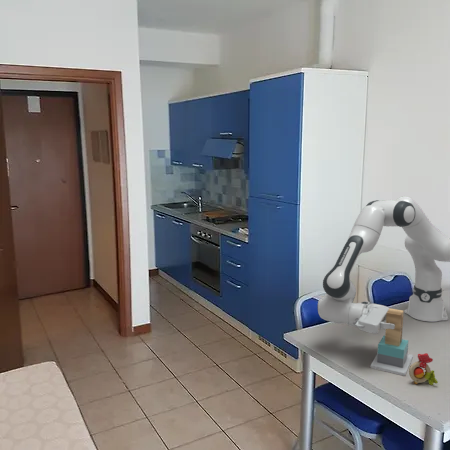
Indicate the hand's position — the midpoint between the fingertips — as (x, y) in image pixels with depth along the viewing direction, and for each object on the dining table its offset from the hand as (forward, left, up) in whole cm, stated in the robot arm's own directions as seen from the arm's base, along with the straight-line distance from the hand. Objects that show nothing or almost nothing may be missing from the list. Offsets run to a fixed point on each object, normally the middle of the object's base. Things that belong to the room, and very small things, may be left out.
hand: (397, 322), depth 170 cm
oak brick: (0, -1, -8) cm, 8 cm away
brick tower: (0, -1, -16) cm, 16 cm away
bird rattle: (+10, +11, -16) cm, 22 cm away
